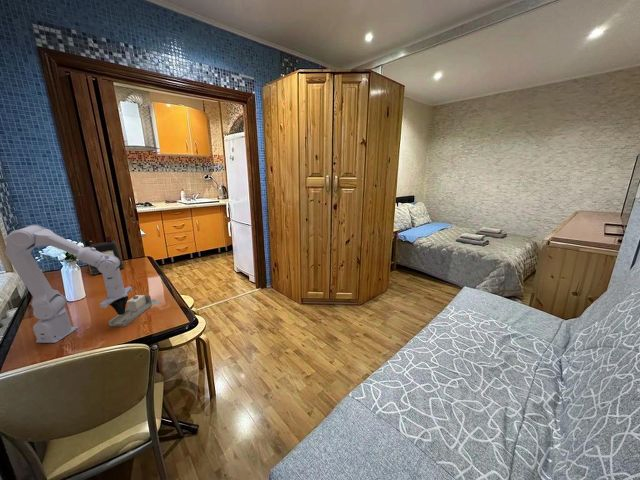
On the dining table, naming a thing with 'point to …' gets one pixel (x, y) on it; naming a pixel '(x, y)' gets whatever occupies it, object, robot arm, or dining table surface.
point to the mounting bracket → (155, 302)
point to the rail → (129, 315)
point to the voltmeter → (104, 252)
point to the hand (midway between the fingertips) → (121, 313)
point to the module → (136, 302)
